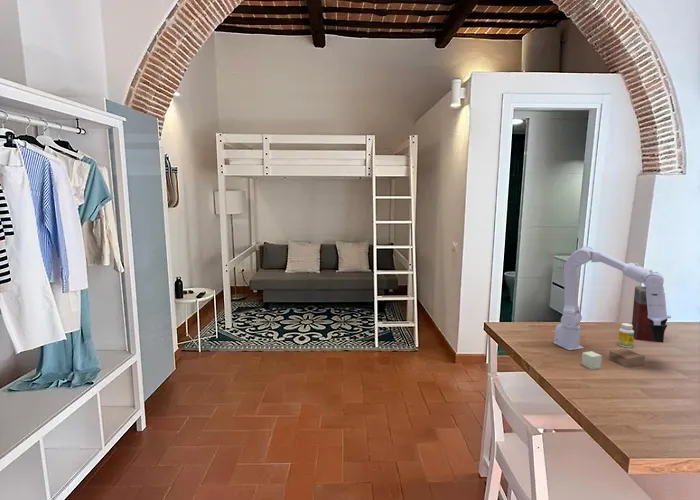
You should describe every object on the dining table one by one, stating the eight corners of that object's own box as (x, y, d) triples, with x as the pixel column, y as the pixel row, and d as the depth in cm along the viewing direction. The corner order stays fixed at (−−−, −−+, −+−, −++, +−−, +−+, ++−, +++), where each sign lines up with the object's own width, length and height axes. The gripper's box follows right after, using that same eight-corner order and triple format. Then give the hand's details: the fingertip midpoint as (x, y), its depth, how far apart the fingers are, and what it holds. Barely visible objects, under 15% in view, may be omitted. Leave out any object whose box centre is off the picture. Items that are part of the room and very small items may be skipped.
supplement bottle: (621, 342, 178) (623, 321, 177) (635, 346, 173) (636, 324, 172) (615, 345, 175) (617, 324, 174) (629, 348, 170) (631, 327, 169)
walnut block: (608, 360, 160) (609, 350, 159) (624, 358, 162) (625, 348, 161) (627, 368, 152) (628, 358, 151) (643, 366, 154) (644, 356, 153)
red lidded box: (652, 334, 188) (657, 276, 184) (659, 342, 178) (665, 281, 174) (629, 332, 191) (634, 274, 188) (635, 339, 181) (640, 279, 178)
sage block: (581, 364, 155) (582, 352, 155) (590, 363, 156) (591, 351, 156) (591, 369, 151) (592, 356, 150) (600, 368, 152) (601, 355, 151)
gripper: (669, 308, 144) (673, 345, 144) (669, 300, 155) (673, 334, 156) (645, 308, 148) (648, 344, 149) (647, 300, 160) (650, 333, 160)
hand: (659, 339), depth 152 cm, fingers open, 7 cm apart
